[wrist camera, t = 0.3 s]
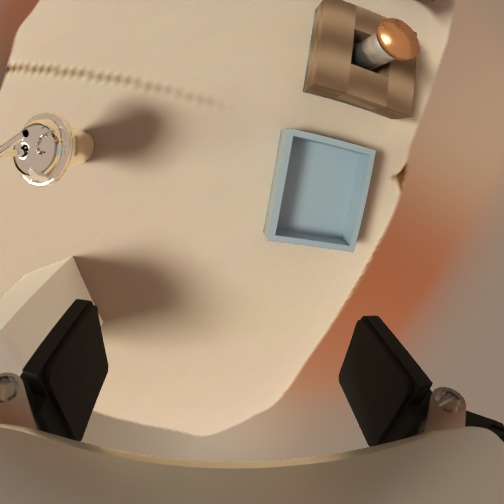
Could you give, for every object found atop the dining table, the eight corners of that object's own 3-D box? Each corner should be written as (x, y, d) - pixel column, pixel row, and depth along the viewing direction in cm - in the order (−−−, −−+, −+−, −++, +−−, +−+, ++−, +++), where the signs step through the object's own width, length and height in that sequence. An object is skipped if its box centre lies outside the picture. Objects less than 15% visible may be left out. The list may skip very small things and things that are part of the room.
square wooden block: (315, 10, 30) (326, -5, 25) (398, 41, 32) (416, 32, 27) (302, 91, 34) (314, 83, 30) (391, 118, 36) (411, 116, 32)
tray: (281, 130, 36) (287, 127, 32) (362, 149, 38) (376, 150, 34) (263, 231, 40) (267, 240, 37) (342, 243, 42) (353, 252, 38)
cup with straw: (64, 114, 32) (-32, 104, 13) (116, 123, 33) (31, 107, 15) (52, 171, 34) (-45, 196, 15) (102, 183, 36) (13, 216, 17)
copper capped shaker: (344, 39, 31) (381, 11, 21) (376, 51, 32) (419, 30, 21) (340, 70, 33) (378, 47, 22) (373, 81, 33) (418, 66, 23)
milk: (103, 322, 43) (39, 447, 18) (55, 332, 43) (-11, 436, 18) (72, 255, 39) (-33, 357, 14) (26, 273, 39) (-69, 360, 14)
